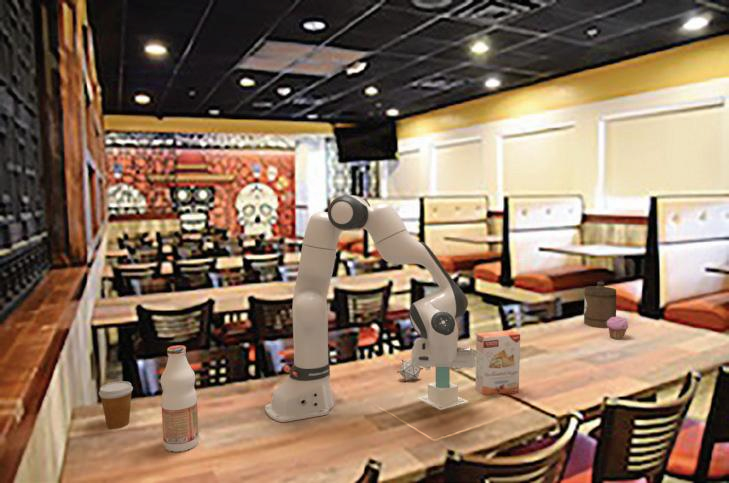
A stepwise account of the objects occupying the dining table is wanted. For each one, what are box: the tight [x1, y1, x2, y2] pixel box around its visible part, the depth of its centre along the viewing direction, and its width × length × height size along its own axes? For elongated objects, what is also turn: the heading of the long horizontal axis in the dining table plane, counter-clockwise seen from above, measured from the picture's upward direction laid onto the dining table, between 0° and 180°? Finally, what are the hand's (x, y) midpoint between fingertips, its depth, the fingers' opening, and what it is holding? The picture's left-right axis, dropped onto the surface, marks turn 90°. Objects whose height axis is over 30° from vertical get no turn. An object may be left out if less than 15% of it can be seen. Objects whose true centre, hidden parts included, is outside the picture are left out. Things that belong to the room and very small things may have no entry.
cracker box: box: [475, 329, 521, 396], centre depth 187 cm, size 14×6×21 cm, turn 105°
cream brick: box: [427, 381, 459, 405], centre depth 180 cm, size 7×7×5 cm
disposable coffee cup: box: [98, 381, 134, 429], centre depth 167 cm, size 10×10×12 cm
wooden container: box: [583, 280, 617, 329], centre depth 274 cm, size 15×15×22 cm
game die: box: [396, 359, 424, 383], centre depth 200 cm, size 9×8×10 cm
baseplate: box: [417, 394, 470, 411], centre depth 180 cm, size 12×12×1 cm
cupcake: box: [607, 316, 629, 340], centre depth 250 cm, size 9×9×10 cm
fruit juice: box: [160, 344, 200, 453], centre depth 152 cm, size 9×9×28 cm
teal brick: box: [435, 367, 451, 388], centre depth 179 cm, size 4×4×8 cm
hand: (442, 368), depth 178 cm, fingers open, 8 cm apart
